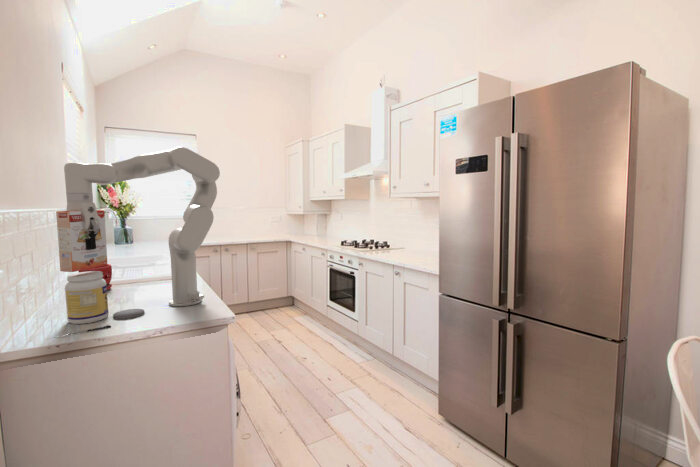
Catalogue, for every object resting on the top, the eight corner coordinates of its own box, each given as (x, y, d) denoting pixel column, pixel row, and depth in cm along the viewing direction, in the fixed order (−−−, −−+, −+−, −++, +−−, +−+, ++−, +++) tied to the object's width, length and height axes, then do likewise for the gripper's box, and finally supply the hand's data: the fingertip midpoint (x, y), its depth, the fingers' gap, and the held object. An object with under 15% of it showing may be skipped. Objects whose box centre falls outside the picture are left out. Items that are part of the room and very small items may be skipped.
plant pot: (112, 286, 184) (111, 262, 183) (113, 291, 173) (111, 266, 172) (80, 289, 177) (78, 265, 176) (79, 295, 166) (77, 269, 165)
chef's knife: (38, 340, 114) (37, 342, 112) (37, 336, 114) (37, 338, 111) (110, 326, 126) (111, 328, 124) (110, 323, 126) (111, 324, 123)
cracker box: (74, 272, 123) (69, 210, 121) (59, 272, 124) (54, 210, 122) (109, 265, 137) (105, 209, 135) (95, 264, 138) (91, 209, 136)
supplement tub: (113, 318, 132) (110, 273, 131) (71, 327, 123) (68, 278, 122) (103, 312, 141) (100, 269, 139) (63, 319, 132) (60, 274, 130)
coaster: (150, 312, 140) (150, 309, 140) (127, 320, 130) (127, 317, 130) (130, 310, 143) (130, 307, 143) (106, 318, 133) (106, 315, 133)
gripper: (108, 198, 129) (111, 248, 131) (73, 198, 134) (77, 247, 136) (87, 198, 122) (91, 251, 124) (51, 198, 127) (55, 249, 129)
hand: (84, 248), depth 130 cm, fingers closed on cracker box, 6 cm apart
